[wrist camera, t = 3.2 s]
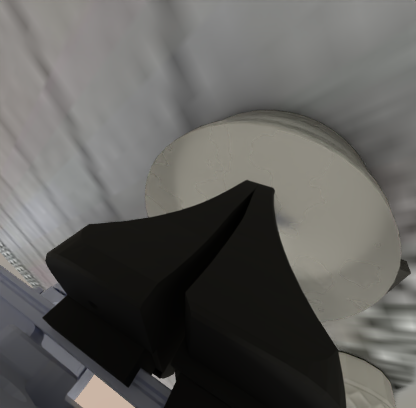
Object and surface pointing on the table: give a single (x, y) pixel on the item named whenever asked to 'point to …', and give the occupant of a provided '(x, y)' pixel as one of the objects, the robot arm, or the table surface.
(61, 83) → the table surface
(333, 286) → the lid
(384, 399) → the white cup
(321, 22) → the table surface
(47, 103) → the table surface
